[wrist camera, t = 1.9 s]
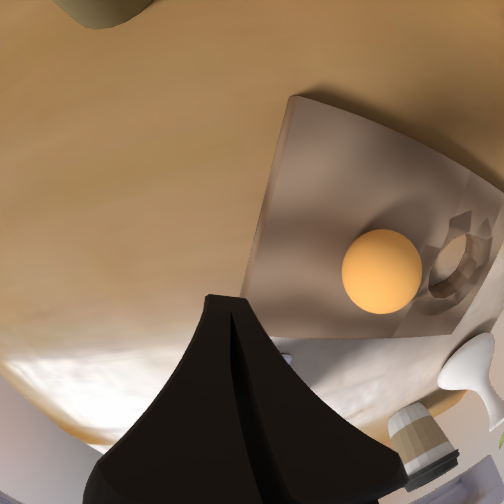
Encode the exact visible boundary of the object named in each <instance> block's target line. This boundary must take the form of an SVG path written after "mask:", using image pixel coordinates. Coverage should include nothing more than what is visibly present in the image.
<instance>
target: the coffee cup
mask: <svg viewBox="0 0 504 504" xmlns="http://www.w3.org/2000/svg"><path fill="white" fill-rule="evenodd" d="M387 423H388V431H389V435H390V439H391V443H392V446H393V450H394V451H396V452H398V453H399V455H400V457H401V460H402V462H403V465H404V467H405V470H406V472H407V475H408V478H409V481H408V482H407V484H406V485H404V486H403V487H405V489H406V490H407V492H410V491H413V490H415V489H417V488H419V487H421V486H423V485H425V484H427V483H429V482H431V481H433V480H434V479H436V478H438V477H440V476H441V475H443V474H445V473H446V472H448V471H450V470H451V469H452V468H454V467H456V466H457V465H458V462H457V457H458V456H459V452H458V449H457V450H455V449H454V447H453V446H452V444H451V443H450V441H449V440H448V439H447V437H446V436H445V434H444V433H443V431H442V430H441V428H440V427H439V426H438V424H437V423H436V421H435V420H434V419H433V417H432V416H431V414H430V413H429V412H428V410H427V409H426V407H425V406H424V405H422V403H421V402H416V403H413V404H410V405H408V406H406V407H404V408H402V409H401V410H399V411H397V412H396V413H395V414H393V415H392V416H391V417H390V418H389V419H388V421H387ZM403 487H401V488H403Z"/></svg>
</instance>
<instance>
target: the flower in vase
mask: <svg viewBox="0 0 504 504" xmlns="http://www.w3.org/2000/svg"><path fill="white" fill-rule="evenodd" d="M494 344H495V340H494V337H493V334H491V333H482V334H479V335H477V336H476V337H474V338H472V339H471V340H469V341H468V342H466V343H465V344H464V345H463V346H461V347H460V348H459V349H458V350H457V351H456V352H455V353H454V354H453V355H452V356H451V357H450V359H449V360H448V361H447V362H446V364H445V365H444V367H443V368H442V370H441V371H440V373H439V375H438V382H437V384H438V386H439V387H441V388H442V389H446V390H463V389H470V390H474V391H476V392H477V393H478V394H479V395H480V397H481V398H482V399H483V401H484V403H485V405H486V408H487V410H488V413H489V417H490V428H489V431H492V430H493V429H494V428H496V427H497V426H498V425H499V424H501V423H502V422H503V421H504V401H503V400H502V399H501V398H500V397H499V395H498V394H497V393H496V391H495V390H494V388H493V387H492V385H491V383H490V380H489V370H490V365H491V361H492V357H493V352H494ZM503 442H504V433H503V435H502V437H501V439H500V442H499V449H500V448H501V446H502V444H503Z"/></svg>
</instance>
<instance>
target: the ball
mask: <svg viewBox="0 0 504 504" xmlns="http://www.w3.org/2000/svg"><path fill="white" fill-rule="evenodd" d="M421 278H422V264H421V259H420V256H419V254H418V251H417V250H416V248H415V246H414V245H413V244H412V243H411V241H410V240H409V239H407V238H406V237H405V236H403V235H402V234H400V233H398V232H395V231H392V230H386V229H379V230H373V231H370V232H367V233H365V234H363V235H361V236H360V237H359V238H357V239H356V240H355V241H354V242H353V243H352V244H351V246H350V247H349V249H348V250H347V252H346V255H345V257H344V260H343V264H342V280H343V285H344V288H345V290H346V292H347V294H348V296H349V297H350V298H351V300H352V301H353V302H354V303H355V304H356V305H357V306H359V307H360V308H362V309H363V310H366V311H368V312H371V313H376V314H387V313H392V312H395V311H397V310H399V309H401V308H403V307H404V306H406V305H407V304H408V303H409V302H410V301H411V300H412V299H413V297H414V296H415V294H416V293H417V291H418V288H419V286H420V283H421Z"/></svg>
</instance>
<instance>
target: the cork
mask: <svg viewBox="0 0 504 504" xmlns="http://www.w3.org/2000/svg"><path fill="white" fill-rule="evenodd" d="M52 1H53V2H55V3H56V4H57V5H58V6H59V7H60V8H62V9H63V10H64V11H65V12H66V13H67V14H69V15H70V16H71V17H72V18H73V19H74V20H75V21H77V22H78V23H79V24H81V25H83V26H84V27H86V28H92V29H104V28H111V27H114V26H116V25H119V24H121V23H124V22H126V21H128V20H129V19H131V18H133V17H134V16H136V15H137V14H139V13H140V12H141V11H142V10H143V9H144V8H145V7H146V6H147V5H149V4H150V3H151V1H152V0H52Z"/></svg>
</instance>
